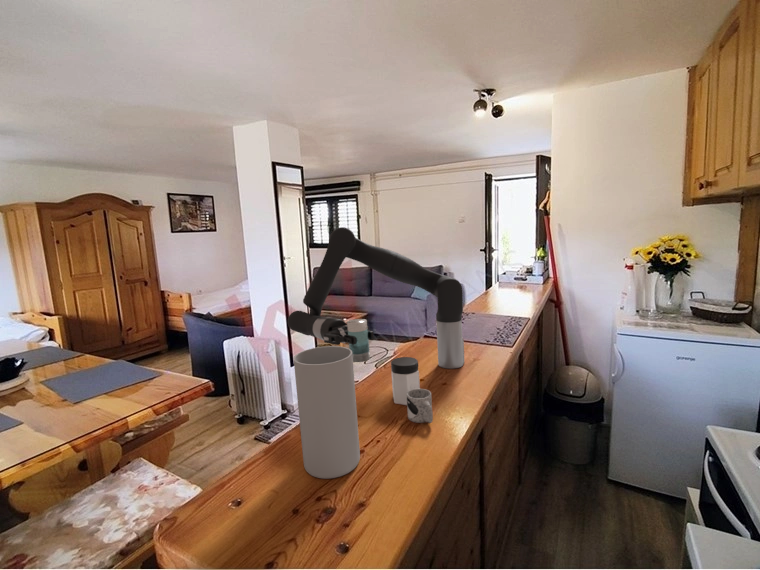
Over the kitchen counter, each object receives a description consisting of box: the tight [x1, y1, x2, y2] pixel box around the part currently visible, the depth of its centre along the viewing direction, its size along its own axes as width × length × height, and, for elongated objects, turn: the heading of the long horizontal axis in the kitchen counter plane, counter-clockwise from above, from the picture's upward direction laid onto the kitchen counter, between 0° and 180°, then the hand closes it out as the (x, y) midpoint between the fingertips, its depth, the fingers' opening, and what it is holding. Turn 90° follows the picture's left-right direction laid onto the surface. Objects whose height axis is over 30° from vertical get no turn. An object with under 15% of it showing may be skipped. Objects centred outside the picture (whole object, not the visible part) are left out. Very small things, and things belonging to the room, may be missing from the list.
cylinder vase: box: [293, 345, 361, 480], centre depth 82 cm, size 12×12×25 cm
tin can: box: [346, 318, 371, 363], centre depth 105 cm, size 6×6×11 cm
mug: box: [406, 388, 434, 424], centre depth 99 cm, size 10×7×7 cm, turn 21°
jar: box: [390, 356, 421, 406], centre depth 112 cm, size 9×8×12 cm
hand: (363, 337), depth 103 cm, fingers closed on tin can, 5 cm apart
